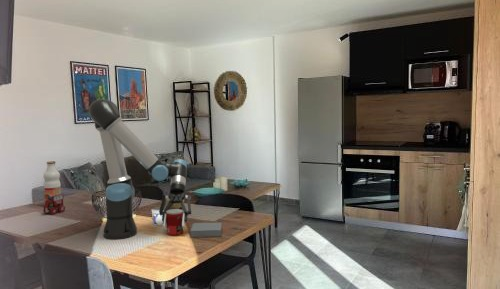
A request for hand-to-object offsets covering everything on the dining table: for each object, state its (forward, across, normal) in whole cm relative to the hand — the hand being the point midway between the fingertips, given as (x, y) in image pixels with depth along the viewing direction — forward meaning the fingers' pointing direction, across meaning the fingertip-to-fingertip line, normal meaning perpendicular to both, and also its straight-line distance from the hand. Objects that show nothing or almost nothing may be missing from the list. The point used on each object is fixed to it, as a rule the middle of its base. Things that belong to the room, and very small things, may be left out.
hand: (173, 227), depth 171 cm
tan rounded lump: (-32, +7, -38) cm, 50 cm away
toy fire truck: (-30, +77, -37) cm, 91 cm away
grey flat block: (+1, -15, -5) cm, 16 cm away
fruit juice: (-43, +86, -49) cm, 108 cm away
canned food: (+1, 0, -6) cm, 6 cm away
